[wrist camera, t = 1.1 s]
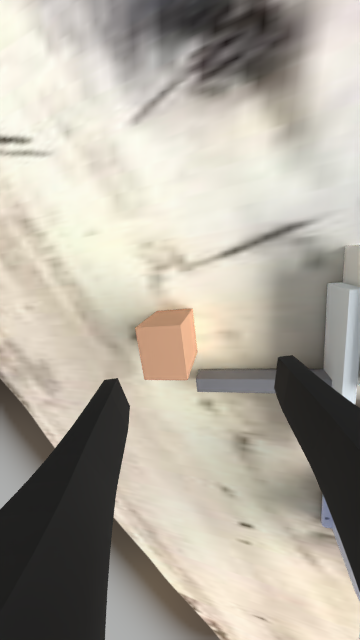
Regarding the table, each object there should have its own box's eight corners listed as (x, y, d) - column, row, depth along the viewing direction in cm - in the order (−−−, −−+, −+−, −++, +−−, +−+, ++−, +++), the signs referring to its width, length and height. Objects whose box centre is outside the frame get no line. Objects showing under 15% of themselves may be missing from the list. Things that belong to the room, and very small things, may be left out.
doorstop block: (197, 351, 25) (187, 380, 19) (163, 352, 26) (144, 379, 20) (192, 308, 24) (180, 325, 18) (157, 311, 25) (135, 327, 19)
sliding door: (334, 382, 22) (354, 408, 18) (200, 381, 26) (194, 403, 22) (340, 282, 20) (365, 288, 16) (190, 295, 23) (182, 303, 19)
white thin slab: (337, 439, 24) (363, 483, 19) (319, 437, 25) (339, 481, 20) (351, 245, 19) (390, 242, 14) (327, 248, 19) (358, 246, 15)
